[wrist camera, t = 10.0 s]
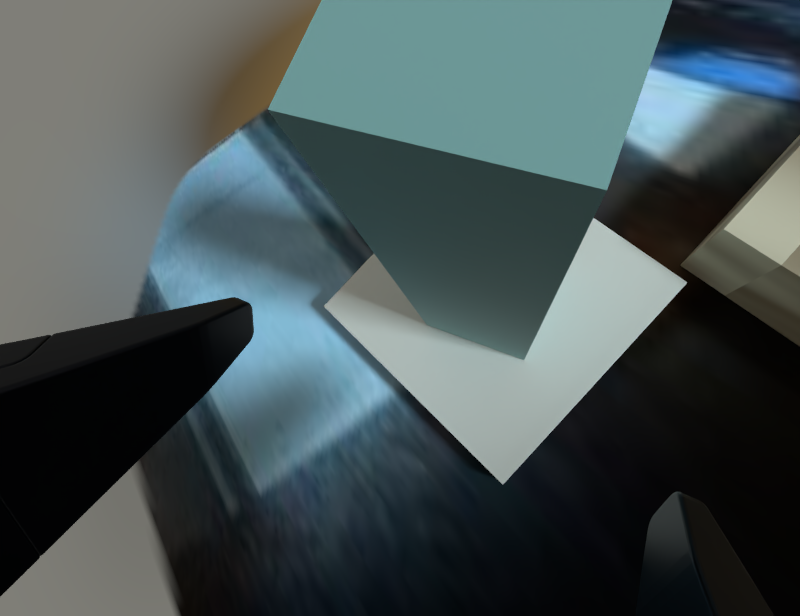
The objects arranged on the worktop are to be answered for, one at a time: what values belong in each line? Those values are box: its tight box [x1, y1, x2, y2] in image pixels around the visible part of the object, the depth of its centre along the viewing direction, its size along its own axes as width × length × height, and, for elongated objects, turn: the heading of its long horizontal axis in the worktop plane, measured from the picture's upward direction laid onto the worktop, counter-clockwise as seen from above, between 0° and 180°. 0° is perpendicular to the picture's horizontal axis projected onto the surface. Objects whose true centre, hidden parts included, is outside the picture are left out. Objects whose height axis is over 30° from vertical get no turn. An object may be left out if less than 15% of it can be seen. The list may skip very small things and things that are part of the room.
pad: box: [324, 218, 687, 484], centre depth 18 cm, size 10×10×1 cm
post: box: [268, 0, 672, 360], centre depth 11 cm, size 4×4×13 cm
